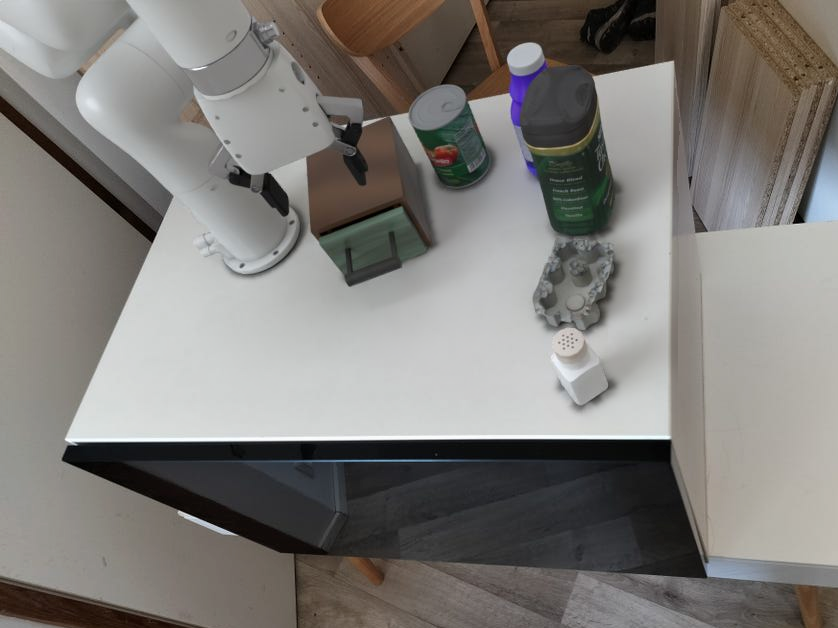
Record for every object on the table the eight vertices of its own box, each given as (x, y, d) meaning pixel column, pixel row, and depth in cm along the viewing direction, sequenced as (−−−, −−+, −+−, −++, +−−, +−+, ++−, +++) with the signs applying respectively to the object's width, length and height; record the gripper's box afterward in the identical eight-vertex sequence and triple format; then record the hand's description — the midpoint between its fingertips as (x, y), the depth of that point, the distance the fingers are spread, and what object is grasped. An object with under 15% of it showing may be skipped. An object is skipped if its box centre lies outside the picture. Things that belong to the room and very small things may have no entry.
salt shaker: (560, 383, 74) (539, 339, 66) (590, 362, 74) (573, 316, 66) (580, 409, 72) (561, 367, 64) (611, 388, 72) (596, 343, 64)
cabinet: (432, 245, 90) (403, 196, 82) (346, 276, 92) (310, 231, 84) (417, 166, 98) (389, 115, 90) (338, 197, 100) (305, 149, 92)
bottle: (587, 148, 90) (559, 33, 75) (578, 181, 87) (548, 69, 73) (535, 150, 92) (499, 39, 78) (525, 181, 90) (486, 74, 76)
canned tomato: (432, 190, 95) (400, 131, 86) (445, 148, 98) (416, 87, 89) (484, 187, 92) (457, 126, 83) (496, 145, 95) (472, 81, 86)
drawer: (433, 285, 85) (409, 247, 79) (351, 315, 87) (321, 280, 80) (413, 177, 96) (390, 135, 90) (340, 205, 98) (313, 166, 92)
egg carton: (595, 335, 75) (589, 316, 72) (533, 324, 79) (524, 305, 75) (622, 258, 79) (617, 236, 76) (562, 250, 82) (555, 229, 79)
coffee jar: (610, 239, 81) (582, 120, 66) (547, 239, 84) (506, 125, 69) (622, 178, 85) (598, 52, 70) (561, 180, 88) (525, 60, 73)
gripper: (313, -6, 60) (393, 140, 74) (145, 70, 63) (253, 196, 77) (317, 42, 56) (401, 187, 70) (137, 121, 58) (253, 244, 73)
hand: (323, 191), depth 73 cm, fingers open, 8 cm apart
